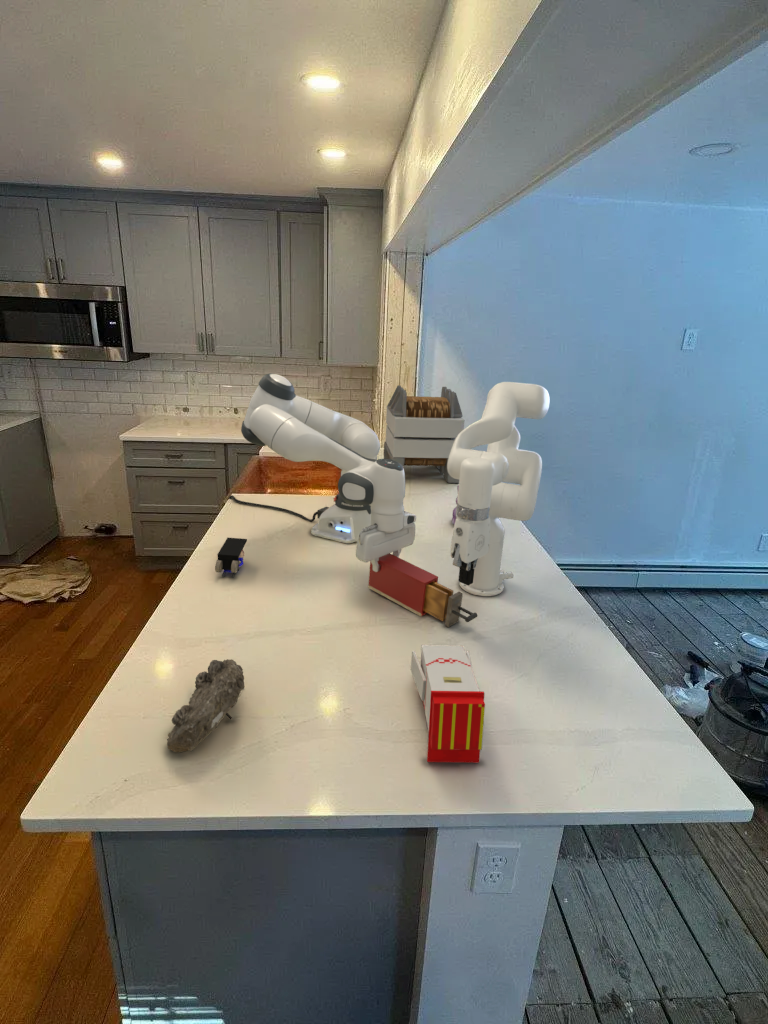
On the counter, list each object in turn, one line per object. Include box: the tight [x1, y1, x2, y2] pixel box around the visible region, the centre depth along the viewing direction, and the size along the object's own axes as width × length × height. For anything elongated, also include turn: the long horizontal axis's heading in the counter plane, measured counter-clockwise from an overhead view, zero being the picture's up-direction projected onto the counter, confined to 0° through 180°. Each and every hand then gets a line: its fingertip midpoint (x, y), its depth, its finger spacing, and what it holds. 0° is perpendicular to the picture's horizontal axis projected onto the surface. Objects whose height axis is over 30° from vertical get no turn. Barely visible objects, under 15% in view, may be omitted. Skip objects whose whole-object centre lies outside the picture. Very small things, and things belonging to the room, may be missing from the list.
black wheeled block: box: [214, 537, 248, 578], centre depth 166 cm, size 7×8×15 cm
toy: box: [410, 644, 486, 764], centre depth 111 cm, size 12×13×30 cm
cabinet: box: [367, 553, 439, 617], centre depth 153 cm, size 19×6×10 cm, turn 47°
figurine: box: [451, 484, 459, 526], centre depth 209 cm, size 9×10×15 cm
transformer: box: [383, 384, 465, 484], centre depth 268 cm, size 34×33×41 cm
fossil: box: [166, 658, 245, 754], centre depth 106 cm, size 22×10×15 cm
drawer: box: [423, 581, 479, 628], centre depth 146 cm, size 24×4×8 cm, turn 47°
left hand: (385, 567), depth 156 cm, fingers closed on cabinet, 5 cm apart
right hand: (465, 582), depth 138 cm, fingers closed
